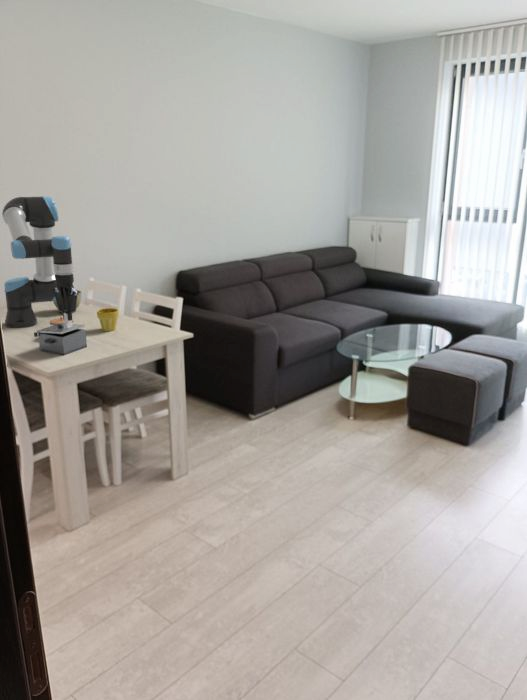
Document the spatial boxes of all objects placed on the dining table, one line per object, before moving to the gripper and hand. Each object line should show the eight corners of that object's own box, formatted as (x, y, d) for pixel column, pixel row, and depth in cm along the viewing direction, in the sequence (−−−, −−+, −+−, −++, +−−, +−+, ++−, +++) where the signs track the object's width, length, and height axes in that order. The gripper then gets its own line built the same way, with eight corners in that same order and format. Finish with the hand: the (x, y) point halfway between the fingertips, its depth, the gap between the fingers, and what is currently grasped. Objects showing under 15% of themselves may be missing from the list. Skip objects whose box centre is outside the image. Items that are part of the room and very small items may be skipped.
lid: (36, 333, 251) (35, 327, 250) (59, 326, 263) (58, 320, 262) (62, 335, 244) (61, 328, 244) (85, 327, 256) (84, 321, 256)
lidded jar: (61, 340, 268) (59, 321, 265) (46, 337, 273) (44, 317, 270) (79, 335, 277) (77, 316, 274) (64, 332, 282) (62, 313, 279)
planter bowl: (77, 315, 315) (76, 295, 311) (48, 314, 315) (46, 295, 312) (86, 308, 330) (85, 289, 327) (58, 307, 330) (57, 289, 327)
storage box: (34, 351, 252) (32, 332, 249) (63, 341, 267) (62, 323, 264) (61, 356, 246) (59, 337, 243) (89, 345, 260) (87, 328, 258)
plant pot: (114, 332, 282) (112, 313, 279) (94, 331, 284) (93, 312, 281) (123, 327, 292) (121, 308, 289) (104, 326, 293) (102, 307, 290)
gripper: (45, 273, 243) (51, 327, 250) (69, 276, 238) (73, 331, 245) (58, 271, 250) (63, 323, 257) (81, 273, 244) (86, 327, 251)
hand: (68, 327), depth 251 cm, fingers closed
